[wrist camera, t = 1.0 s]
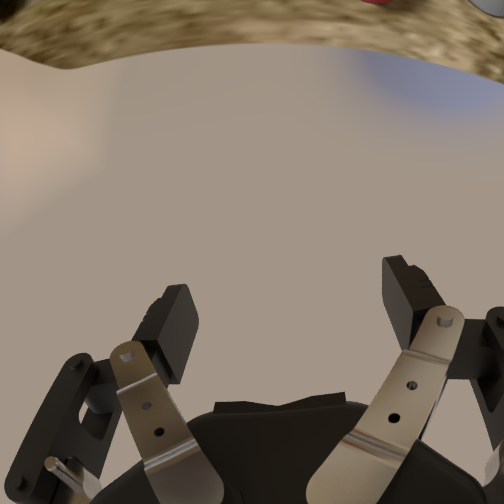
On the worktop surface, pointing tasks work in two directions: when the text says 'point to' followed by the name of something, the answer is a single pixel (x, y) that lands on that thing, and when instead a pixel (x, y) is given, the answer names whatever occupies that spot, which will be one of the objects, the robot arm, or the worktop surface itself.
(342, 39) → the worktop surface
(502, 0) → the coaster
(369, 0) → the onion
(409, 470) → the robot arm
